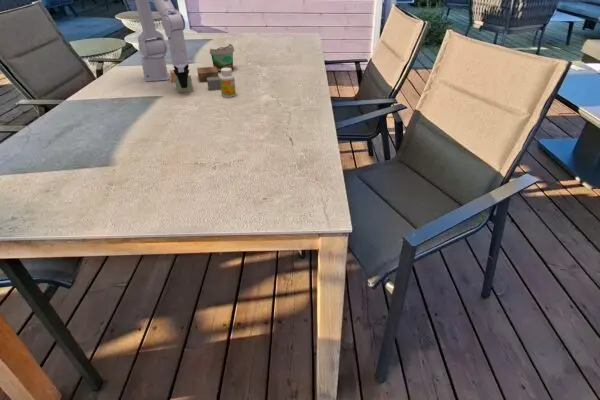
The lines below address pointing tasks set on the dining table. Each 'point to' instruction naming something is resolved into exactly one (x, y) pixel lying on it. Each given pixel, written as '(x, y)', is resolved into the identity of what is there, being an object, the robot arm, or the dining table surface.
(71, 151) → the dining table surface
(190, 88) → the sage brick
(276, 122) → the dining table surface
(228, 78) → the supplement bottle
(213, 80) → the charcoal brick
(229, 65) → the food container
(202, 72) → the walnut block
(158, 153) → the dining table surface
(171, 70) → the terracotta brick
